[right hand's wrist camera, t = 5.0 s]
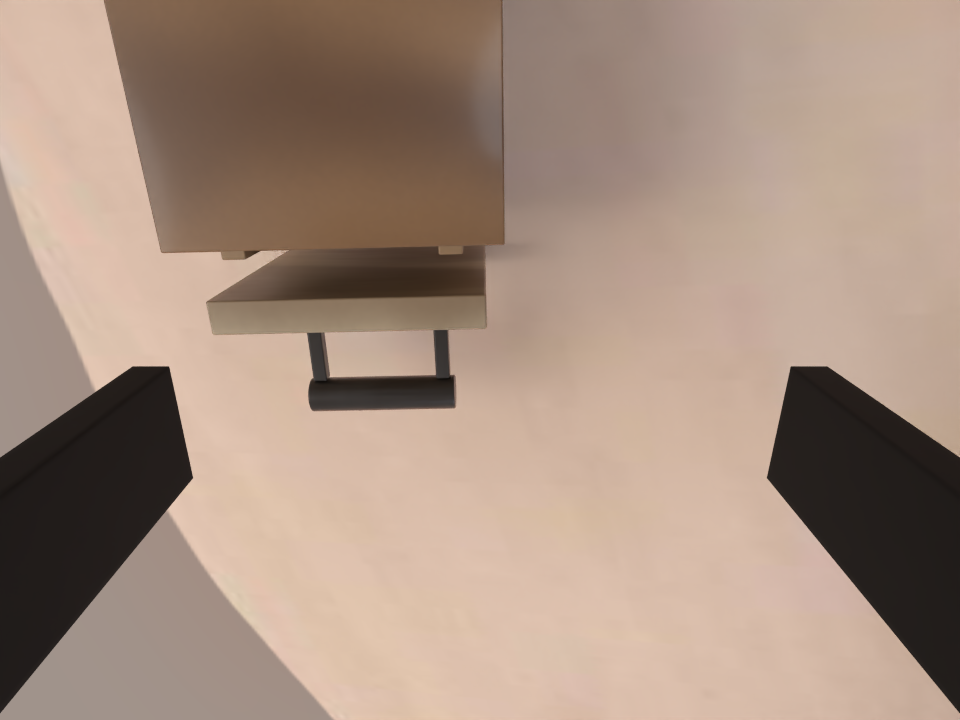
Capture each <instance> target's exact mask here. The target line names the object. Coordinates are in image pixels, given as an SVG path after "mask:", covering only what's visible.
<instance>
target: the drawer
mask: <svg viewBox="0 0 960 720" xmlns="http://www.w3.org/2000/svg"><path fill="white" fill-rule="evenodd" d="M258 252H259V251H226V252H221V255H222V259H223V260H240V259H247V258H248V257H250V256H252V255H254V254H256V253H258ZM206 304H207V309H208V314H209V318H210V323H211V328H212V333H213V335H234V334H278V333H307V335H308V342H309V349H310V356H311V363H312V370H313V377H314V378H312V379H311V381H310V385H309V392H308V397H309V404H310V407H311V409H312V411H347V410H396V409H444V408H455V407H456V378H455V375H450V355H449V334H448V330H456V329H485V328H486V327H487V317H486V268H485V245H472V246H431V247H390V248H349V249H308V250H289V251H287V252H285V253H284V254H282V255H281V256H279V257H277V258H276V259H274V260H273V261H271V262H269V263H268V264H266V265H265V266H263V267H261V268H260V269H258V270H257V271H255V272H253V273H252V274H250V275H249V276H247V277H245V278H244V279H242V280H241V281H239V282H237V283H236V284H234V285H233V286H231V287H229V288H228V289H226V290H225V291H223V292H221V293H220V294H218V295H217V296H215V297H213V298H212V299H210V300H209V301H207V303H206ZM412 330H434V348H435V365H436V375H421V376H375V377H329V376H330V372H329V365H328V357H327V349H326V342H325V334H324V332H367V331H412Z"/></svg>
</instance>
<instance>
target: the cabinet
mask: <svg viewBox="0 0 960 720" xmlns="http://www.w3.org/2000/svg"><path fill="white" fill-rule="evenodd" d="M104 3H105V7H106V12H107V16H108V21H109V25H110V29H111V34H112V38H113V43H114V47H115V51H116V56H117V60H118V64H119V69H120V73H121V78H122V82H123V86H124V91H125V95H126V100H127V104H128V108H129V113H130V117H131V122H132V126H133V130H134V135H135V139H136V143H137V148H138V152H139V157H140V161H141V165H142V170H143V174H144V179H145V183H146V187H147V192H148V196H149V201H150V205H151V209H152V214H153V218H154V222H155V227H156V231H157V236H158V240H159V244H160V249H161V252H162V253H185V252H226V251H267V250H308V249H349V248H390V247H431V246H472V245H503V244H504V243H505V239H504V133H503V28H502V0H104Z"/></svg>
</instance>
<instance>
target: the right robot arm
mask: <svg viewBox="0 0 960 720" xmlns="http://www.w3.org/2000/svg"><path fill="white" fill-rule="evenodd" d="M192 479H193V476H192V471H191V466H190V462H189V457H188V452H187V448H186V443H185V438H184V434H183V429H182V424H181V420H180V415H179V410H178V406H177V401H176V396H175V392H174V387H173V382H172V378H171V373H170V368H169V367H131V368H130V369H128V370H127V371H126V372H124V373H123V374H121V375H120V376H118V377H117V378H115V379H114V380H112V381H111V382H110V383H108V384H107V385H105V386H104V387H102V388H101V389H99V390H98V391H96V392H95V393H94V394H92V395H91V396H89V397H88V398H86V399H85V400H83V401H82V402H80V403H79V404H78V405H76V406H75V407H73V408H72V409H70V410H69V411H67V412H66V413H64V414H63V415H62V416H60V417H59V418H57V419H56V420H54V421H53V422H51V423H50V424H48V425H47V426H46V427H44V428H43V429H41V430H40V431H38V432H37V433H35V434H34V435H32V436H31V437H30V438H28V439H27V440H25V441H24V442H22V443H21V444H19V445H18V446H16V447H15V448H13V449H12V450H11V451H9V452H8V453H6V454H5V455H3V456H2V457H0V713H1V712H2V710H3V709H4V708H5V707H6V705H7V704H8V703H9V702H10V701H11V699H12V698H13V697H14V696H15V695H16V693H17V692H18V691H19V690H20V688H21V687H22V686H23V685H24V683H25V682H26V681H27V680H28V679H29V677H30V676H31V675H32V674H33V673H34V671H35V670H36V669H37V668H38V666H39V665H40V664H41V663H42V662H43V660H44V659H45V658H46V657H47V655H48V654H49V653H50V652H51V651H52V649H53V648H54V647H55V646H56V644H57V643H58V642H59V641H60V640H61V638H62V637H63V636H64V635H65V634H66V632H67V631H68V630H69V629H70V627H71V626H72V625H73V624H74V623H75V621H76V620H77V619H78V618H79V616H80V615H81V614H82V613H83V612H84V610H85V609H86V608H87V607H88V605H89V604H90V603H91V602H92V601H93V599H94V598H95V597H96V596H97V594H98V593H99V592H100V591H101V590H102V588H103V587H104V586H105V585H106V583H107V582H108V581H109V580H110V579H111V577H112V576H113V575H114V574H115V572H116V571H117V570H118V569H119V568H120V566H121V565H122V564H123V563H124V561H125V560H126V559H127V558H128V557H129V555H130V554H131V553H132V552H133V551H134V549H135V548H136V547H137V546H138V544H139V543H140V542H141V541H142V540H143V538H144V537H145V536H146V535H147V533H148V532H149V531H150V530H151V529H152V527H153V526H154V525H155V524H156V523H157V521H158V520H159V519H160V518H161V516H162V515H163V514H164V513H165V512H166V510H167V509H168V508H169V507H170V505H171V504H172V503H173V502H174V501H175V499H176V498H177V497H178V496H179V494H180V493H181V492H182V491H183V490H184V488H185V487H186V486H187V485H188V483H189V482H190V481H191V480H192ZM767 479H768V480H769V481H770V482H771V483H772V485H773V486H774V487H775V488H776V490H777V491H778V492H779V493H780V494H781V496H782V497H783V498H784V499H785V501H786V502H787V503H788V504H789V505H790V507H791V508H792V509H793V510H794V512H795V513H796V514H797V515H798V516H799V518H800V519H801V520H802V521H803V523H804V524H805V525H806V526H807V527H808V529H809V530H810V531H811V532H812V533H813V535H814V536H815V537H816V538H817V540H818V541H819V542H820V543H821V544H822V546H823V547H824V548H825V549H826V551H827V552H828V553H829V554H830V555H831V557H832V558H833V559H834V560H835V562H836V563H837V564H838V565H839V566H840V568H841V569H842V570H843V571H844V573H845V574H846V575H847V576H848V577H849V579H850V580H851V581H852V582H853V584H854V585H855V586H856V587H857V588H858V590H859V591H860V592H861V593H862V594H863V596H864V597H865V598H866V599H867V601H868V602H869V603H870V604H871V605H872V607H873V608H874V609H875V610H876V612H877V613H878V614H879V615H880V616H881V618H882V619H883V620H884V621H885V623H886V624H887V625H888V626H889V627H890V629H891V630H892V631H893V632H894V634H895V635H896V636H897V637H898V638H899V640H900V641H901V642H902V643H903V644H904V646H905V647H906V648H907V649H908V651H909V652H910V653H911V654H912V655H913V657H914V658H915V659H916V660H917V662H918V663H919V664H920V665H921V666H922V668H923V669H924V670H925V671H926V673H927V674H928V675H929V676H930V677H931V679H932V680H933V681H934V682H935V684H936V685H937V686H938V687H939V688H940V690H941V691H942V692H943V693H944V695H945V696H946V697H947V698H948V699H949V701H950V702H951V703H952V704H953V705H954V707H955V708H956V709H957V710H958V712H959V713H960V457H958V456H957V455H955V454H954V453H952V452H951V451H949V450H948V449H946V448H945V447H944V446H942V445H941V444H939V443H938V442H936V441H935V440H933V439H932V438H930V437H929V436H928V435H926V434H925V433H923V432H922V431H920V430H919V429H917V428H916V427H914V426H913V425H912V424H910V423H909V422H907V421H906V420H904V419H903V418H901V417H900V416H898V415H897V414H896V413H894V412H893V411H891V410H890V409H888V408H887V407H885V406H884V405H882V404H881V403H880V402H878V401H877V400H875V399H874V398H872V397H871V396H869V395H868V394H866V393H865V392H864V391H862V390H861V389H859V388H858V387H856V386H855V385H853V384H852V383H850V382H849V381H848V380H846V379H845V378H843V377H842V376H840V375H839V374H837V373H836V372H834V371H833V370H832V369H830V368H829V367H791V368H790V373H789V378H788V382H787V387H786V392H785V396H784V401H783V406H782V410H781V415H780V420H779V424H778V429H777V434H776V438H775V443H774V448H773V452H772V457H771V462H770V466H769V471H768V476H767Z"/></svg>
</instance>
